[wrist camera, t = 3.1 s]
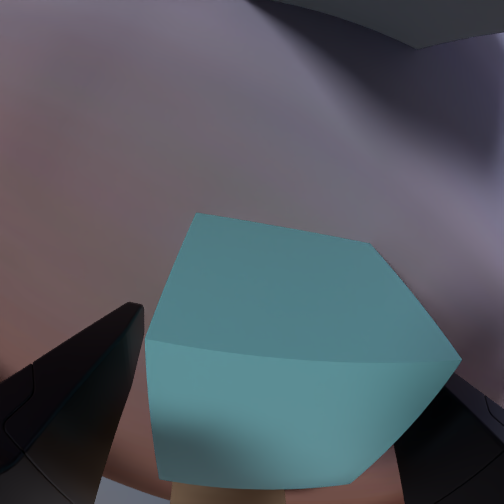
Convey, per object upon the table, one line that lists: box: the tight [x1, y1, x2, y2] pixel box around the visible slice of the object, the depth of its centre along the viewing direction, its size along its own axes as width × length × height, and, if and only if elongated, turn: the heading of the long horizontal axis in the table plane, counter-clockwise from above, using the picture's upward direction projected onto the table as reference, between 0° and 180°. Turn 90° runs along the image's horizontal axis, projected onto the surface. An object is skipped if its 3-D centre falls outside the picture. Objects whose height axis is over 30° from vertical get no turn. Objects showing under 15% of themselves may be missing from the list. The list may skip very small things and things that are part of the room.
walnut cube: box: [170, 482, 286, 504], centre depth 12 cm, size 5×5×5 cm
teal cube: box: [145, 213, 462, 490], centre depth 7 cm, size 5×5×5 cm
